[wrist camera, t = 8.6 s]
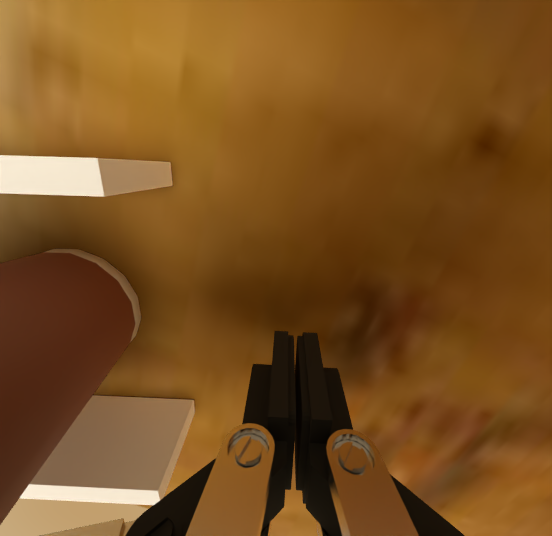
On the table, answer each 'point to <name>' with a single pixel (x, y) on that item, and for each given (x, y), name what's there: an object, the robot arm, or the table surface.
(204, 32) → the table surface
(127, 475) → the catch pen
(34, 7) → the table surface
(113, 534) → the robot arm
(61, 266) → the coffee cup
